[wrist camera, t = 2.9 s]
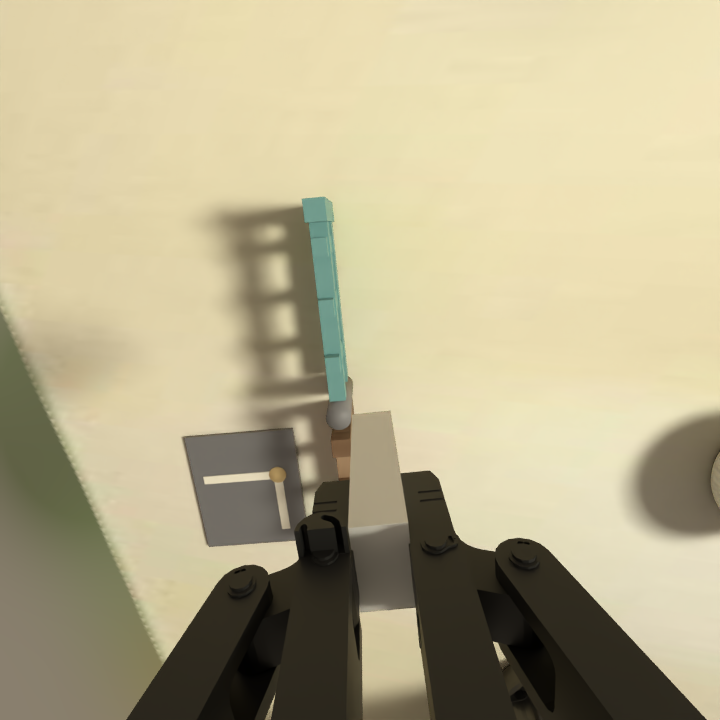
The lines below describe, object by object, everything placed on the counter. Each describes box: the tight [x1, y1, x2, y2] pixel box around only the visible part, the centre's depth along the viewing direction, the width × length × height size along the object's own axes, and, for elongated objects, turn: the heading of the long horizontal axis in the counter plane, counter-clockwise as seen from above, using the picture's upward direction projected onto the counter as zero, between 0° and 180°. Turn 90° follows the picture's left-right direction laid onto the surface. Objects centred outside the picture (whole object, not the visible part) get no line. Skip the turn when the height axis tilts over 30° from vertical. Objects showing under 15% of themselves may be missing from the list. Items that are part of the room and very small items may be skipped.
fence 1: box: [302, 197, 353, 430], centre depth 33 cm, size 16×2×8 cm, turn 5°
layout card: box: [184, 428, 306, 547], centre depth 42 cm, size 12×10×1 cm
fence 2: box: [331, 400, 354, 481], centre depth 38 cm, size 14×5×8 cm, turn 5°
